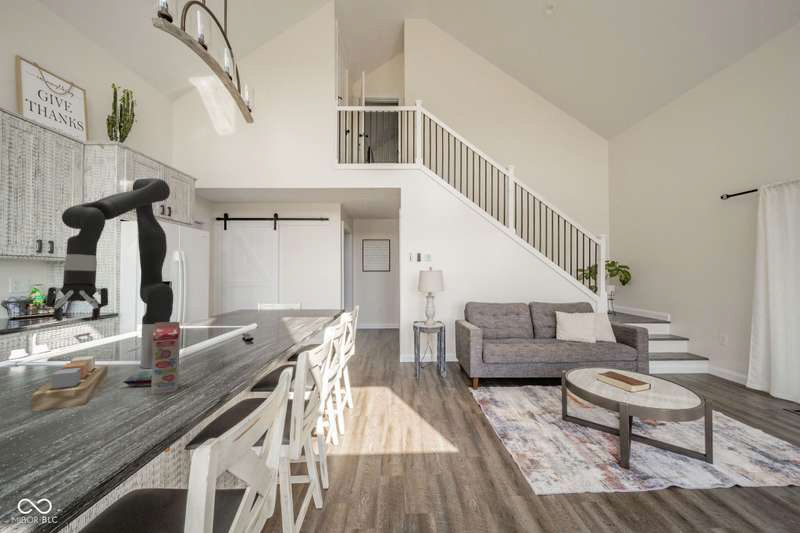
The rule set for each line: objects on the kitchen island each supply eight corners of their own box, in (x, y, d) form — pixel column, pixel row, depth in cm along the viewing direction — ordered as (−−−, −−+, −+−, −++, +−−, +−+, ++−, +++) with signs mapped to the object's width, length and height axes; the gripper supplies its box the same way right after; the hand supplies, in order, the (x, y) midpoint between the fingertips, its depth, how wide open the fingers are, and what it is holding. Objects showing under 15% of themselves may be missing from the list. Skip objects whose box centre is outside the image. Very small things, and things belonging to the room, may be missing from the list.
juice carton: (154, 387, 112) (156, 321, 113) (178, 384, 116) (180, 320, 116) (151, 394, 107) (153, 324, 107) (176, 391, 110) (178, 323, 110)
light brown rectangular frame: (107, 378, 120) (107, 365, 120) (85, 404, 98) (86, 388, 98) (65, 383, 115) (65, 369, 115) (31, 411, 92) (32, 394, 92)
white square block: (94, 367, 117) (95, 355, 117) (90, 371, 112) (91, 359, 112) (75, 369, 114) (75, 357, 114) (70, 373, 110) (70, 360, 110)
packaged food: (137, 380, 120) (137, 366, 120) (174, 379, 122) (174, 365, 122) (121, 389, 111) (122, 374, 111) (162, 387, 113) (162, 373, 113)
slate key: (80, 381, 103) (80, 367, 103) (75, 386, 99) (75, 372, 99) (57, 383, 100) (58, 369, 100) (51, 388, 96) (51, 374, 96)
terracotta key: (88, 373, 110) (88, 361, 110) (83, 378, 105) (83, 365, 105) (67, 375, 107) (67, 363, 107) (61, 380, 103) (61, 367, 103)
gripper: (112, 270, 115) (109, 318, 114) (56, 268, 109) (52, 319, 108) (105, 270, 108) (101, 321, 107) (44, 268, 102) (40, 322, 101)
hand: (77, 320), depth 108 cm, fingers open, 8 cm apart
